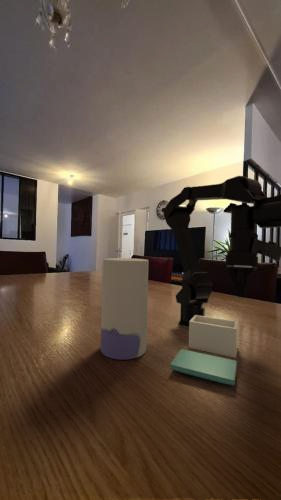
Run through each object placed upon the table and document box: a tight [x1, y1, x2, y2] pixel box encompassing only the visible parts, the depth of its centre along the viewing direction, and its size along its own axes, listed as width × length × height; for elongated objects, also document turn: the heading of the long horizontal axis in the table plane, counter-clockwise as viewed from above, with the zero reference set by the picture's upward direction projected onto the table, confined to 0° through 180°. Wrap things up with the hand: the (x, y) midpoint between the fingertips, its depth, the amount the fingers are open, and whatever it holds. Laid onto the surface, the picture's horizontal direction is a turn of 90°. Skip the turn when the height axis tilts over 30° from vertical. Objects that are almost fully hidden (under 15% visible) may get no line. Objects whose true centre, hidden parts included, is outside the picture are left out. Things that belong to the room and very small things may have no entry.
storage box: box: [188, 315, 239, 358], centre depth 52 cm, size 10×6×6 cm, turn 64°
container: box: [100, 257, 149, 361], centre depth 50 cm, size 10×10×20 cm
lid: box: [169, 348, 238, 386], centre depth 41 cm, size 11×7×2 cm
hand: (241, 293), depth 55 cm, fingers open, 9 cm apart
